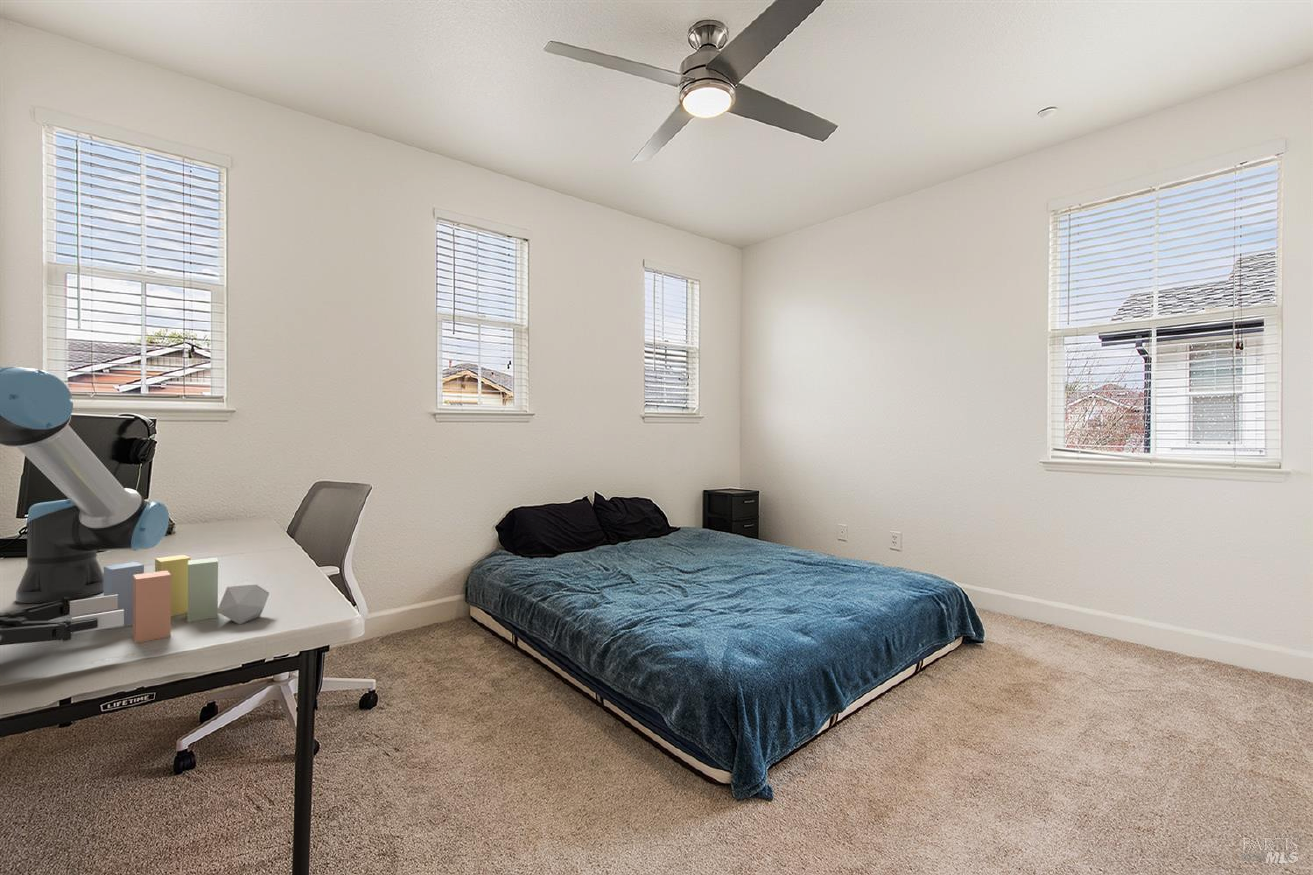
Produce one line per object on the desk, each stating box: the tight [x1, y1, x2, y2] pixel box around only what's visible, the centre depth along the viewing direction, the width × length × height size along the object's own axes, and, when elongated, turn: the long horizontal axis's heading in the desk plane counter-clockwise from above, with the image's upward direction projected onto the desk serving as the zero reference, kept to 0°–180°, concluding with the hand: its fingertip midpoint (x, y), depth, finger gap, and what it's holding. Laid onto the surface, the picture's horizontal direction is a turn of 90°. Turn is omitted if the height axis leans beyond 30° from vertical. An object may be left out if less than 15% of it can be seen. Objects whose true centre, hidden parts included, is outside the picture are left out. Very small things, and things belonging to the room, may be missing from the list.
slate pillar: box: [102, 561, 145, 630], centre depth 117 cm, size 5×5×12 cm
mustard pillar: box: [154, 554, 191, 617], centre depth 124 cm, size 5×5×12 cm
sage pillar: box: [186, 557, 219, 623], centre depth 122 cm, size 5×5×12 cm
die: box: [217, 580, 270, 625], centre depth 120 cm, size 8×9×10 cm
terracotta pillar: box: [132, 571, 172, 644], centre depth 110 cm, size 5×5×12 cm
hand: (120, 608), depth 106 cm, fingers open, 13 cm apart
